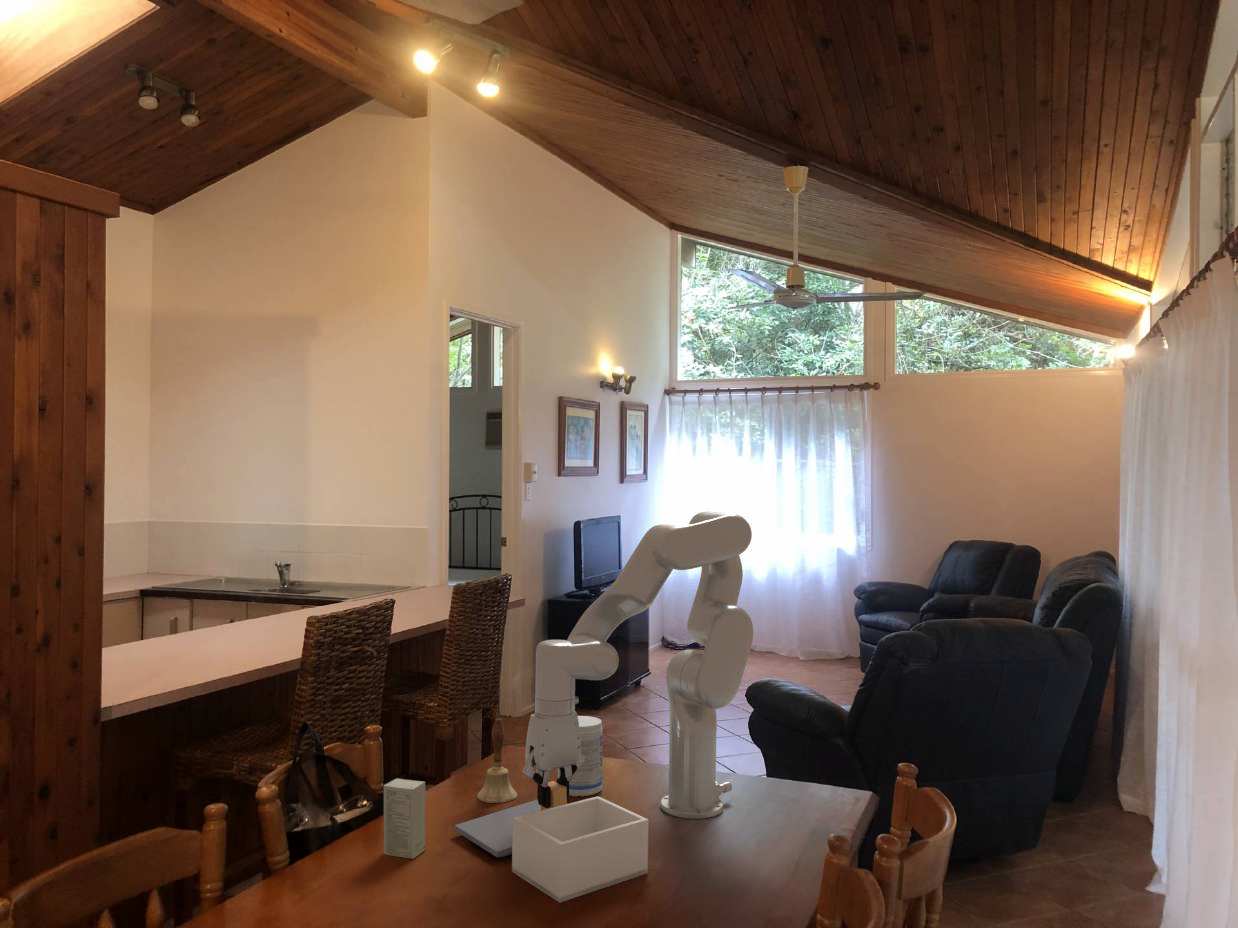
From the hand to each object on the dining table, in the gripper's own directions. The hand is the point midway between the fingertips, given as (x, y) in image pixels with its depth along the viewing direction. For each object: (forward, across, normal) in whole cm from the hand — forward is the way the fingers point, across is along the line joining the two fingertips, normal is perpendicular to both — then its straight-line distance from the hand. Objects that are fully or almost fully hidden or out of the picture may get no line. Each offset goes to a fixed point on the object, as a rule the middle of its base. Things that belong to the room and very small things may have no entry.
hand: (553, 802), depth 174 cm
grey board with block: (+4, +7, 0) cm, 8 cm away
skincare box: (+5, +28, -6) cm, 29 cm away
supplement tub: (+5, -16, -14) cm, 22 cm away
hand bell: (+5, 0, -21) cm, 22 cm away
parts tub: (+5, +8, +19) cm, 21 cm away
